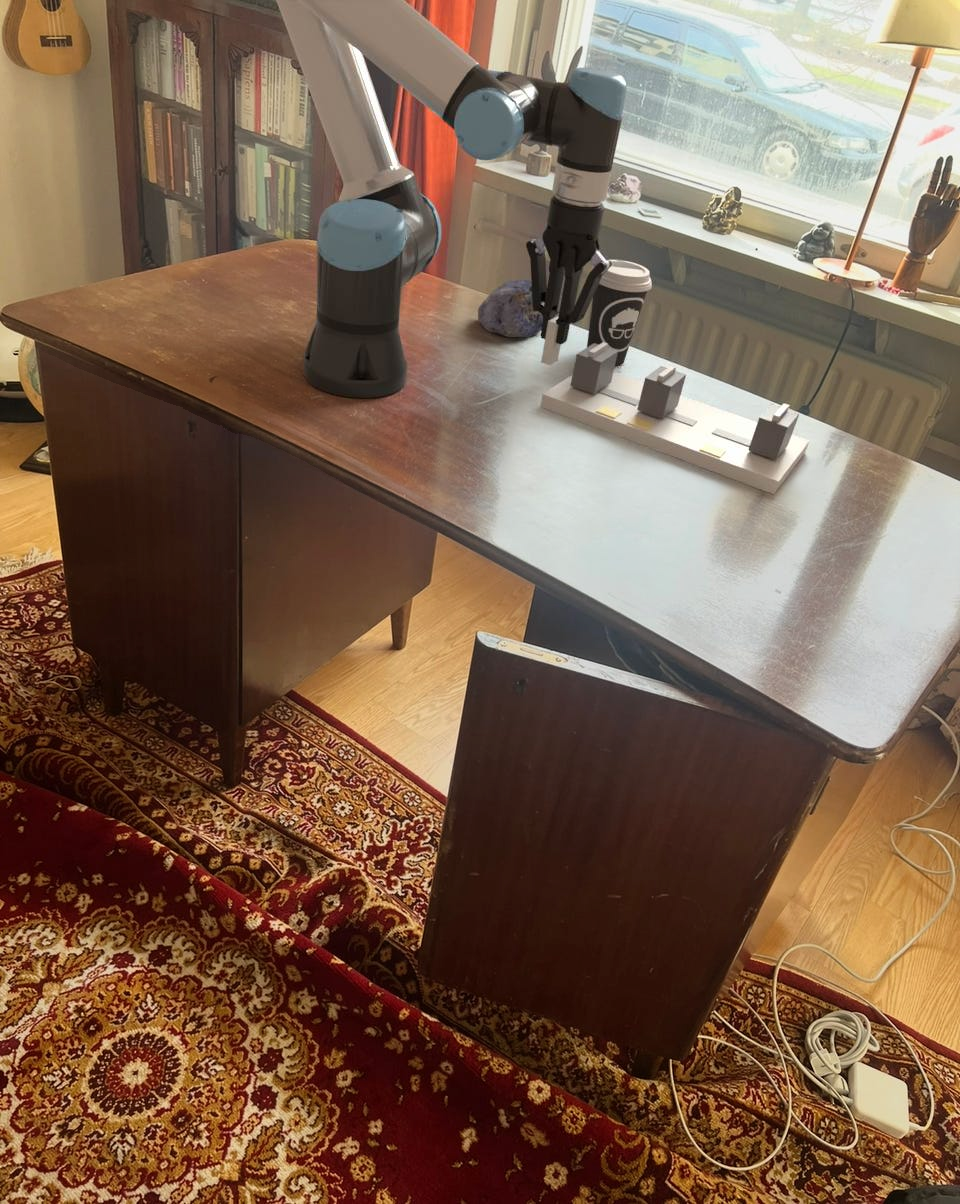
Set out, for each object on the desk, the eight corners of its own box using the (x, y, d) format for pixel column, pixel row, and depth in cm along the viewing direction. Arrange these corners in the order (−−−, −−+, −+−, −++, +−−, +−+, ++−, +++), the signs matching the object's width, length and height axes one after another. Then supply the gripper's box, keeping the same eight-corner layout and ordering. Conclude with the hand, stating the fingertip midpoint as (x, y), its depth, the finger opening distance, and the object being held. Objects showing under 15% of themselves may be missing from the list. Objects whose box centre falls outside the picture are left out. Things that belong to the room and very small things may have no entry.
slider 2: (637, 409, 134) (646, 372, 130) (652, 397, 138) (662, 360, 135) (662, 419, 132) (672, 381, 129) (677, 406, 137) (687, 369, 133)
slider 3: (748, 450, 128) (761, 412, 124) (761, 435, 132) (773, 398, 129) (775, 460, 127) (789, 421, 123) (787, 445, 131) (801, 407, 127)
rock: (557, 316, 160) (541, 268, 153) (526, 356, 157) (509, 309, 149) (508, 309, 166) (490, 262, 159) (477, 348, 163) (458, 302, 155)
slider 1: (570, 385, 138) (577, 348, 134) (587, 374, 142) (595, 337, 139) (594, 394, 136) (602, 357, 133) (610, 382, 141) (619, 346, 137)
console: (540, 406, 136) (542, 392, 135) (587, 375, 148) (589, 362, 146) (773, 494, 124) (779, 480, 122) (805, 452, 135) (810, 439, 134)
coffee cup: (638, 355, 157) (659, 267, 148) (626, 375, 150) (648, 283, 141) (584, 342, 159) (602, 253, 150) (570, 360, 152) (588, 268, 143)
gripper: (524, 191, 126) (500, 355, 141) (609, 215, 122) (576, 381, 136) (549, 183, 132) (524, 342, 146) (632, 206, 127) (597, 367, 141)
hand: (549, 361), depth 141 cm, fingers closed
